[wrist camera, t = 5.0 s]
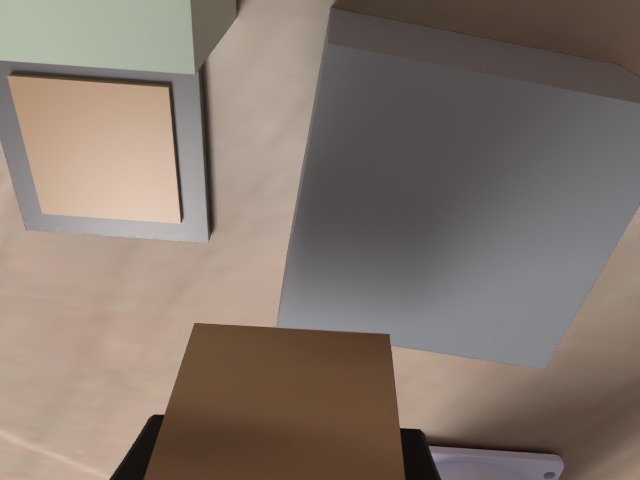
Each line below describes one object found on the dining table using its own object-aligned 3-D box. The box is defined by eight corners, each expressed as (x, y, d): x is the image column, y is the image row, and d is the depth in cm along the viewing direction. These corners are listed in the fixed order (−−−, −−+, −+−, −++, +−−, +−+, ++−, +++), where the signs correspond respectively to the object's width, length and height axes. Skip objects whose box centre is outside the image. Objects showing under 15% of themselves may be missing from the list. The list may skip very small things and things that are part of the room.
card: (210, 236, 18) (207, 246, 18) (31, 223, 18) (22, 232, 18) (200, 53, 15) (195, 59, 15) (-19, 37, 15) (-31, 43, 15)
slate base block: (509, 285, 20) (544, 369, 16) (287, 248, 19) (276, 328, 16) (615, 61, 15) (692, 113, 12) (330, 5, 15) (327, 43, 11)
